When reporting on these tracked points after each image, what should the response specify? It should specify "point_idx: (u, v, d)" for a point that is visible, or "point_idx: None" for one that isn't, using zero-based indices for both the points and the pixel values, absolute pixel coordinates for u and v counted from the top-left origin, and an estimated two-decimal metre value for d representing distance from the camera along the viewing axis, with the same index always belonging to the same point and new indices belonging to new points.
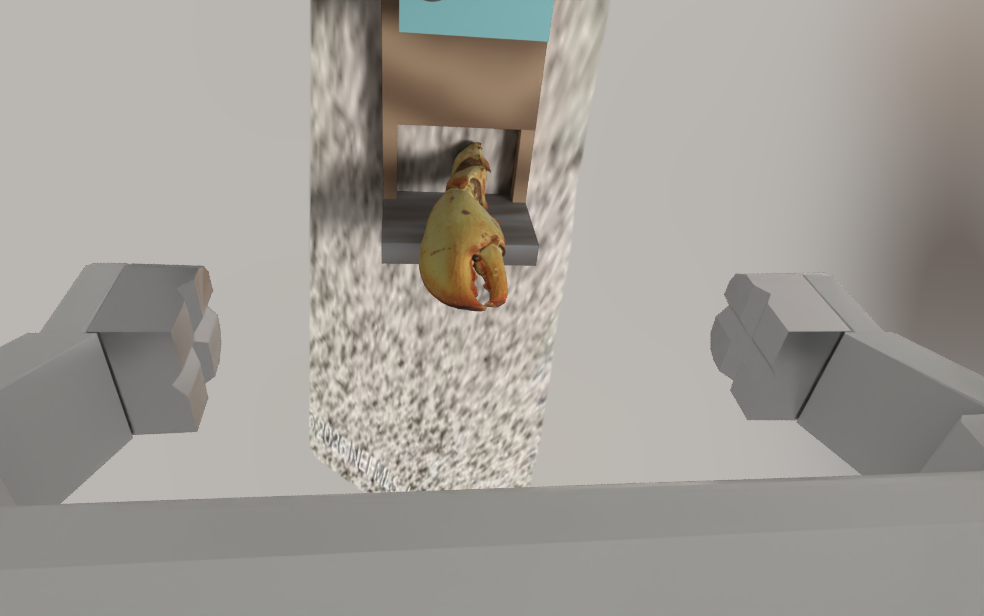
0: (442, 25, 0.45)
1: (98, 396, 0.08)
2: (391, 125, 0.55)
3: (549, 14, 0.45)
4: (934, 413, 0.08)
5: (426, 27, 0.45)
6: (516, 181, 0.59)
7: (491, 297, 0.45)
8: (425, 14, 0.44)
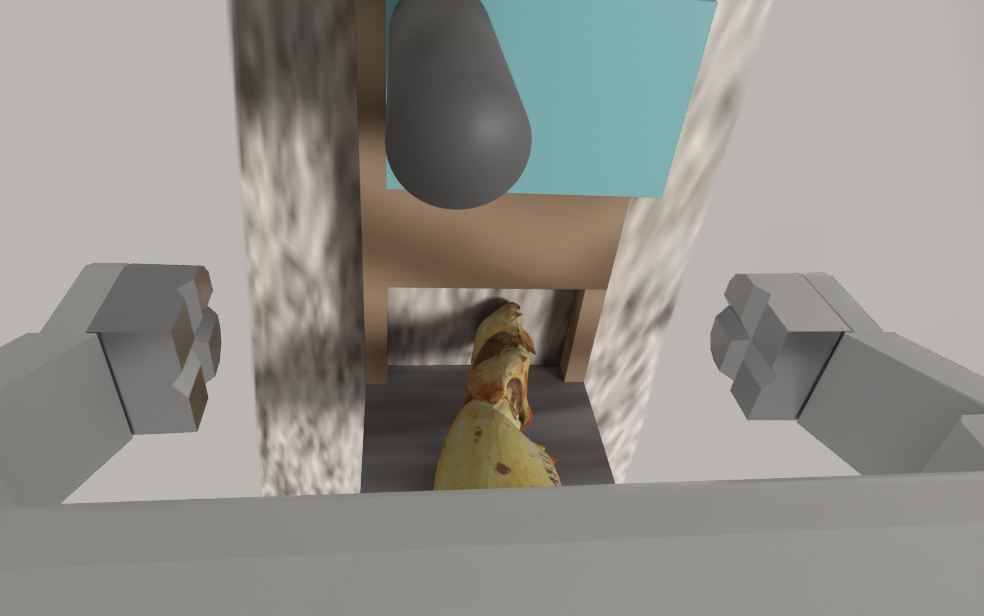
0: None
1: (98, 396, 0.08)
2: (377, 289, 0.34)
3: (669, 154, 0.24)
4: (934, 413, 0.08)
5: None
6: (572, 356, 0.38)
7: None
8: None
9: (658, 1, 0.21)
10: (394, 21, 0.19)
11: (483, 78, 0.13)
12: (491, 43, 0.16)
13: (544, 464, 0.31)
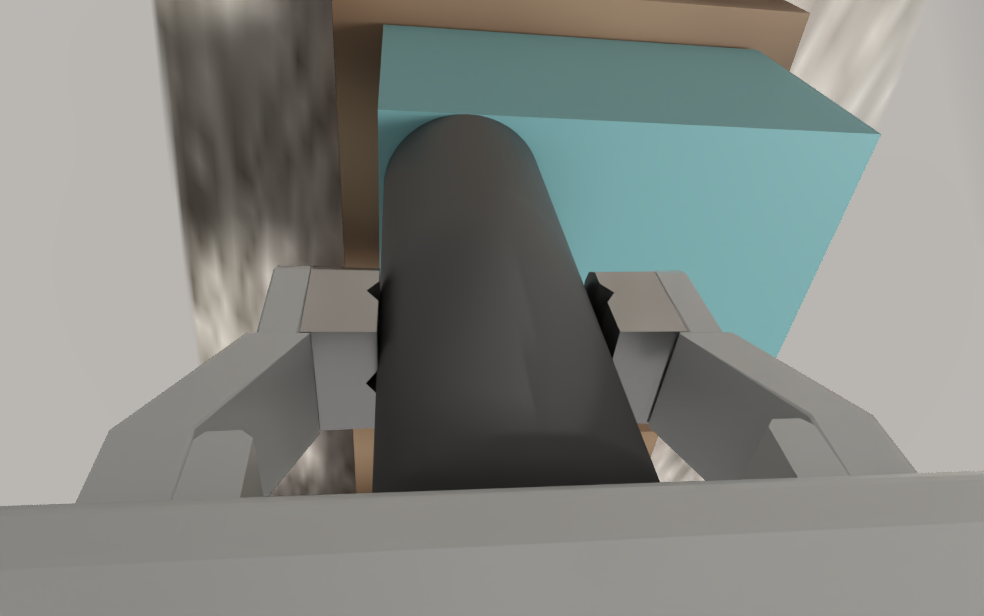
0: None
1: (303, 393, 0.08)
2: (371, 440, 0.27)
3: (783, 327, 0.17)
4: (759, 417, 0.08)
5: None
6: None
7: None
8: None
9: (793, 135, 0.14)
10: (391, 187, 0.12)
11: (579, 437, 0.06)
12: (565, 274, 0.09)
13: None
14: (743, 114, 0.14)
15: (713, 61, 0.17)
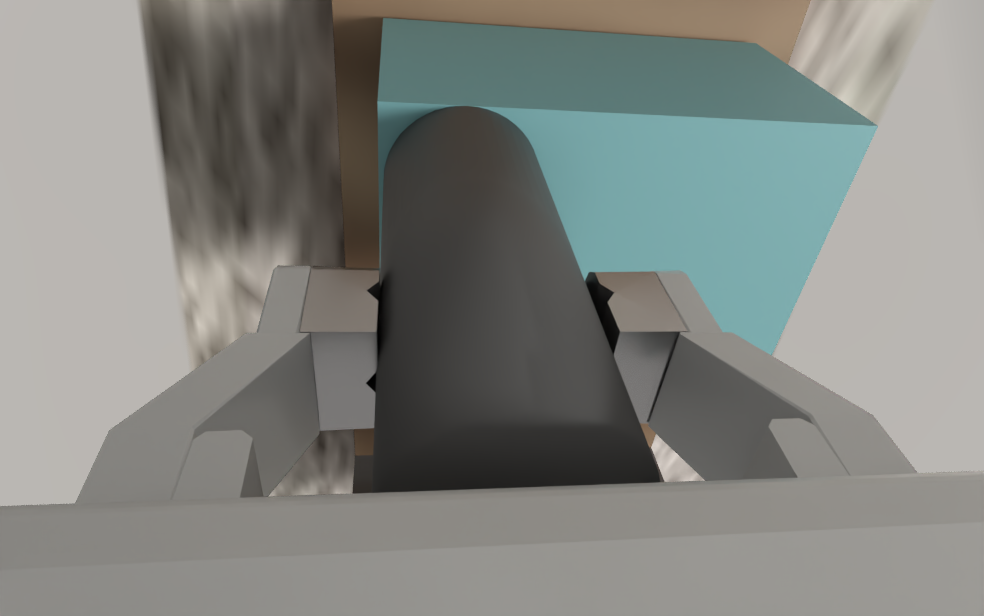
0: None
1: (303, 393, 0.08)
2: None
3: (781, 319, 0.17)
4: (759, 417, 0.08)
5: None
6: None
7: None
8: None
9: (790, 127, 0.14)
10: (391, 178, 0.12)
11: (576, 419, 0.06)
12: (563, 262, 0.09)
13: None
14: (741, 106, 0.14)
15: (712, 54, 0.17)
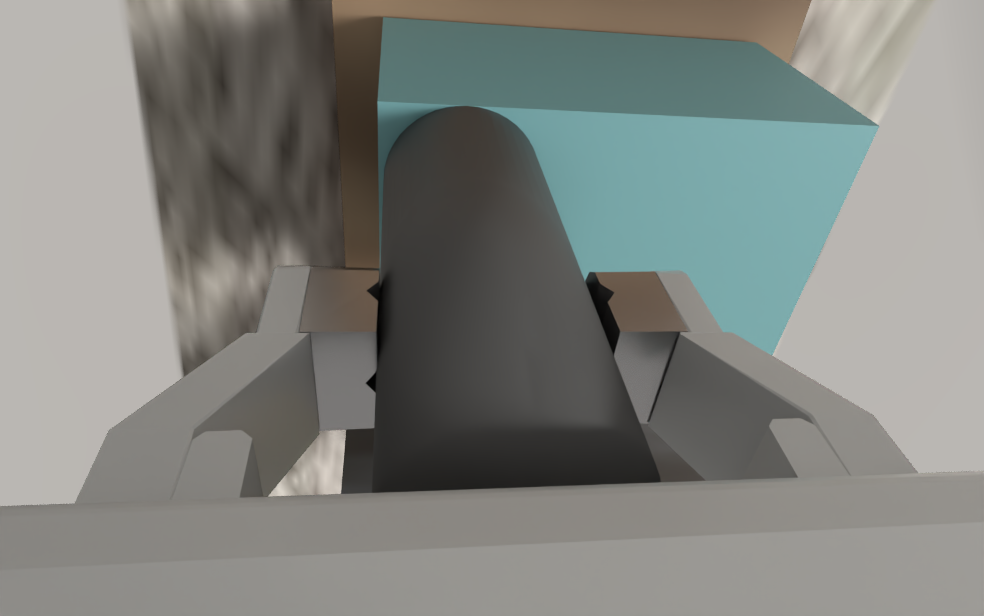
0: None
1: (303, 393, 0.08)
2: (366, 213, 0.21)
3: (782, 319, 0.17)
4: (759, 417, 0.08)
5: None
6: None
7: None
8: None
9: (791, 127, 0.14)
10: (391, 178, 0.12)
11: (576, 423, 0.06)
12: (563, 263, 0.09)
13: None
14: (742, 106, 0.14)
15: (713, 53, 0.17)
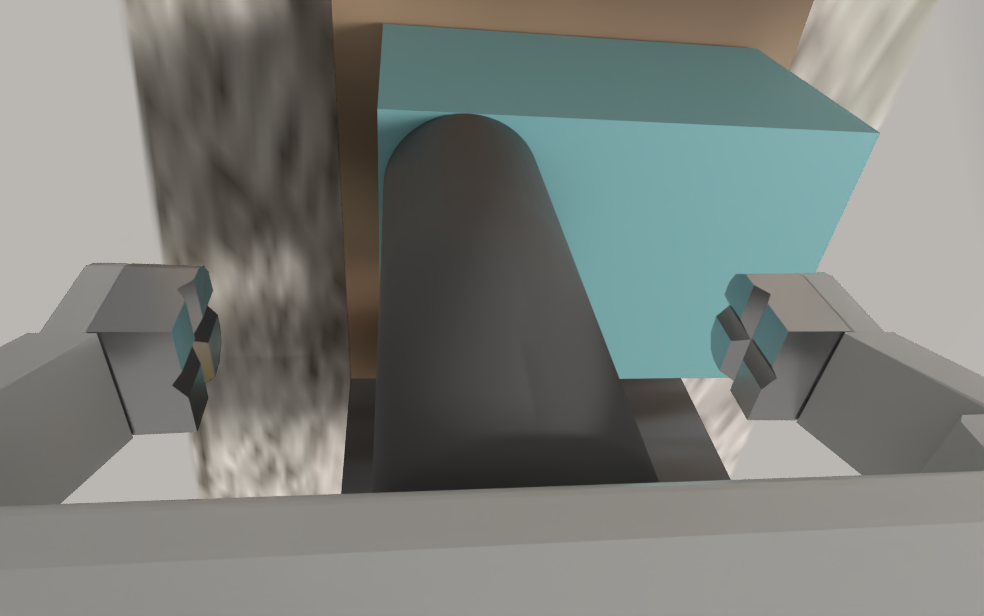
0: None
1: (98, 396, 0.08)
2: (366, 218, 0.21)
3: None
4: (934, 413, 0.08)
5: None
6: None
7: None
8: None
9: (792, 134, 0.14)
10: (391, 186, 0.12)
11: (577, 436, 0.06)
12: (564, 273, 0.09)
13: None
14: (743, 113, 0.14)
15: (713, 60, 0.17)
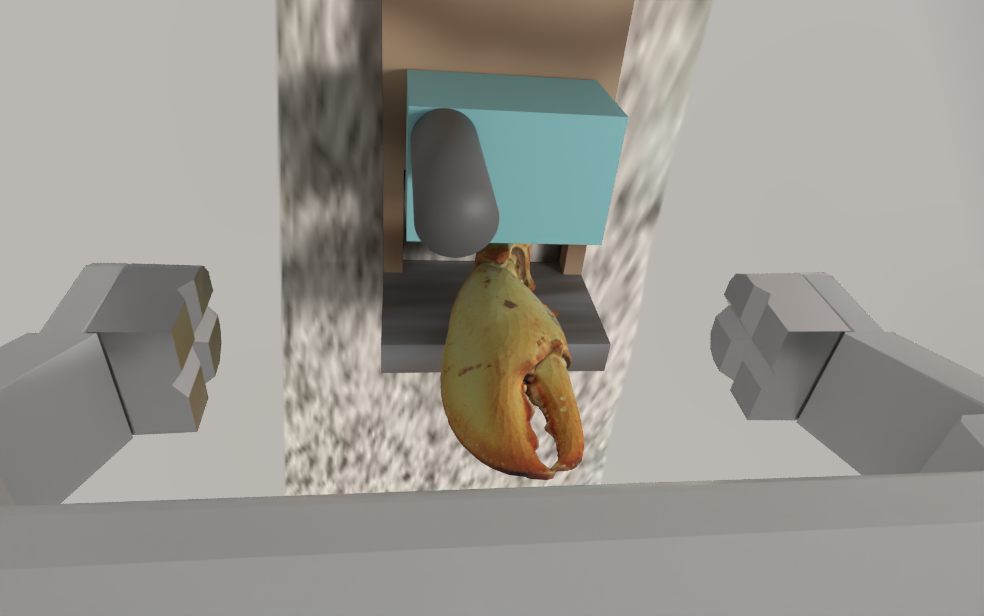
0: None
1: (98, 396, 0.08)
2: (395, 171, 0.38)
3: (604, 215, 0.34)
4: (934, 413, 0.08)
5: None
6: (570, 246, 0.42)
7: (560, 452, 0.28)
8: None
9: (588, 117, 0.31)
10: (414, 136, 0.29)
11: (470, 183, 0.24)
12: (476, 156, 0.26)
13: (546, 310, 0.35)
14: (568, 108, 0.32)
15: (569, 86, 0.35)
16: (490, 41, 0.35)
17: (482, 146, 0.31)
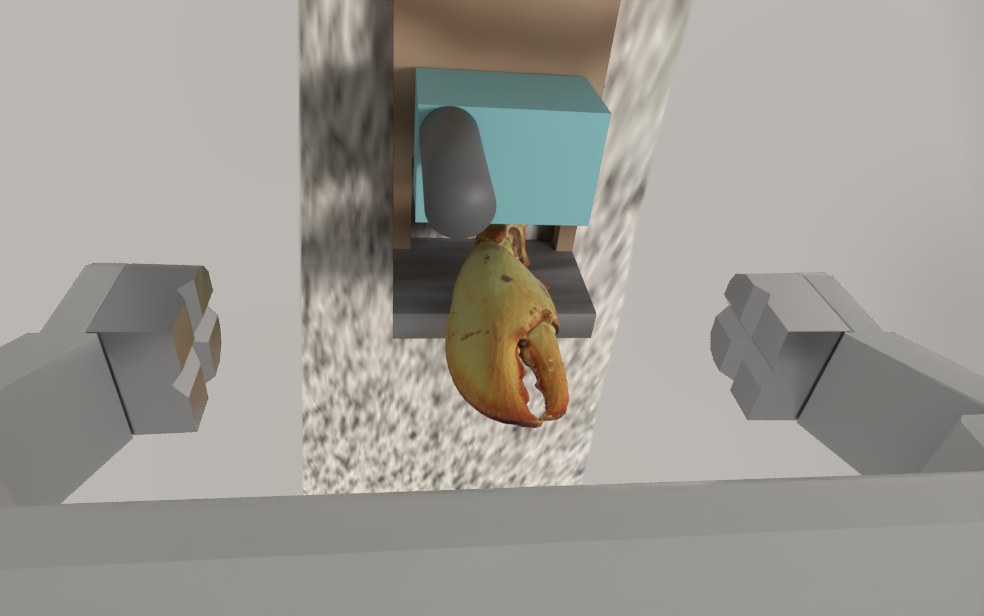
0: None
1: (98, 396, 0.08)
2: (404, 158, 0.42)
3: (590, 199, 0.39)
4: (934, 413, 0.08)
5: None
6: (562, 226, 0.47)
7: (548, 404, 0.33)
8: None
9: (576, 114, 0.35)
10: (423, 131, 0.34)
11: (472, 177, 0.28)
12: (477, 151, 0.31)
13: (539, 283, 0.39)
14: (559, 106, 0.36)
15: (561, 83, 0.39)
16: (490, 42, 0.39)
17: (482, 139, 0.36)
